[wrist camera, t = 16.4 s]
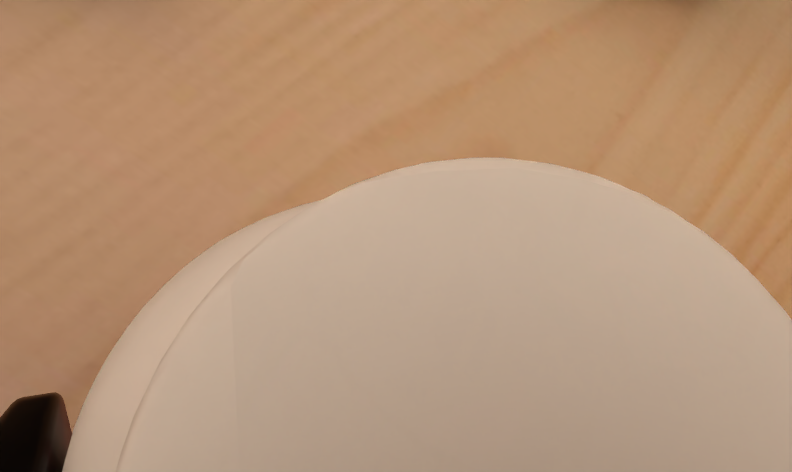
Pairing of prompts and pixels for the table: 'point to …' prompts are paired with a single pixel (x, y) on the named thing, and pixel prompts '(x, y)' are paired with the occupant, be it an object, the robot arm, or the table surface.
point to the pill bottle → (452, 339)
